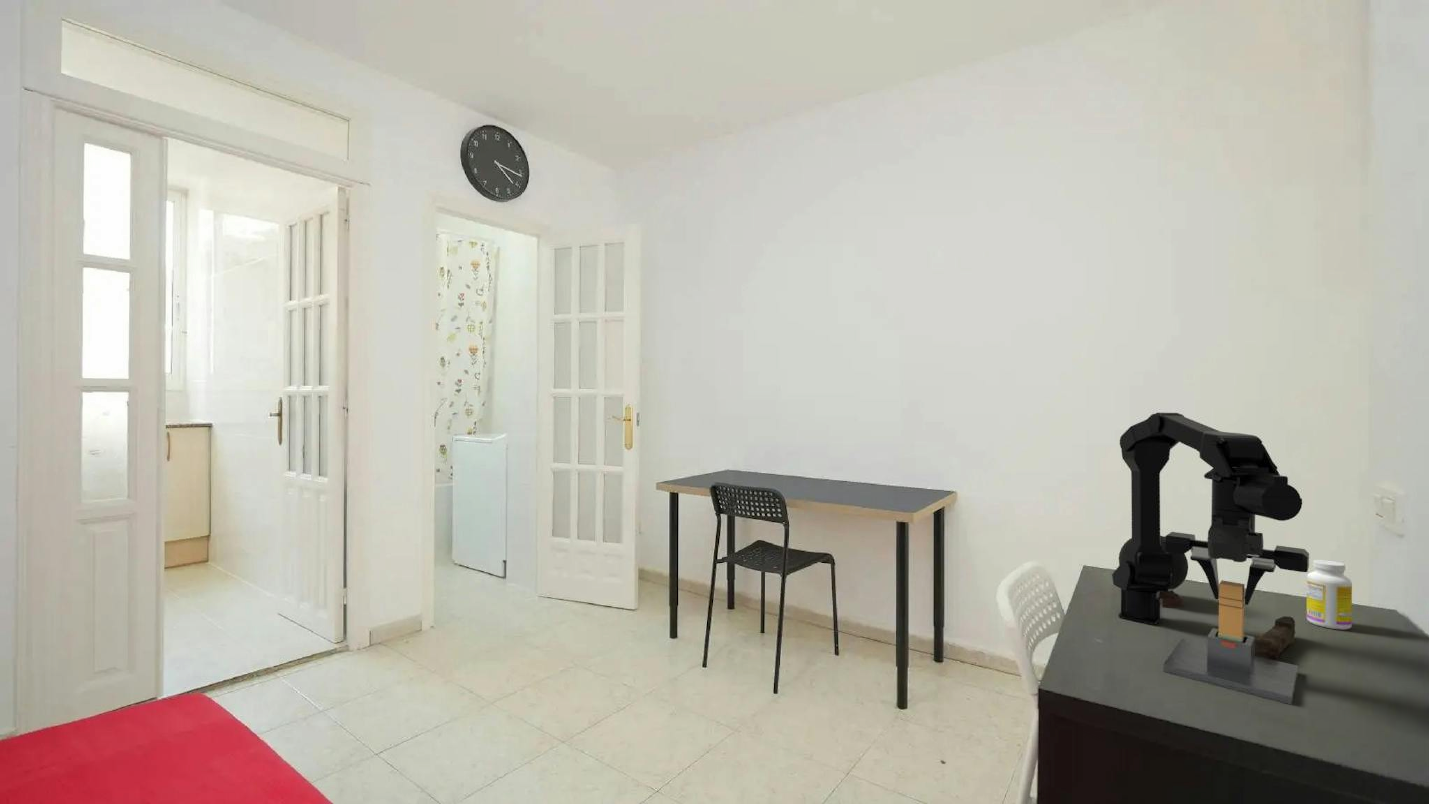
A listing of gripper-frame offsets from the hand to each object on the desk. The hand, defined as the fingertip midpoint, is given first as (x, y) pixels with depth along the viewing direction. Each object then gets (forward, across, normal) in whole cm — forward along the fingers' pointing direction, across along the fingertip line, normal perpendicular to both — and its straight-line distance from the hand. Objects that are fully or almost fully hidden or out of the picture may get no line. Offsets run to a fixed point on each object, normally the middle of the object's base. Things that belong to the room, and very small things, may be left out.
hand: (1231, 601), depth 106 cm
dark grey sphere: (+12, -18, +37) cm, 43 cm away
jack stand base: (+12, 0, 0) cm, 12 cm away
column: (+7, 0, 0) cm, 7 cm away
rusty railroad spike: (+12, +4, +20) cm, 24 cm away
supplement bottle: (+12, +11, +44) cm, 47 cm away
